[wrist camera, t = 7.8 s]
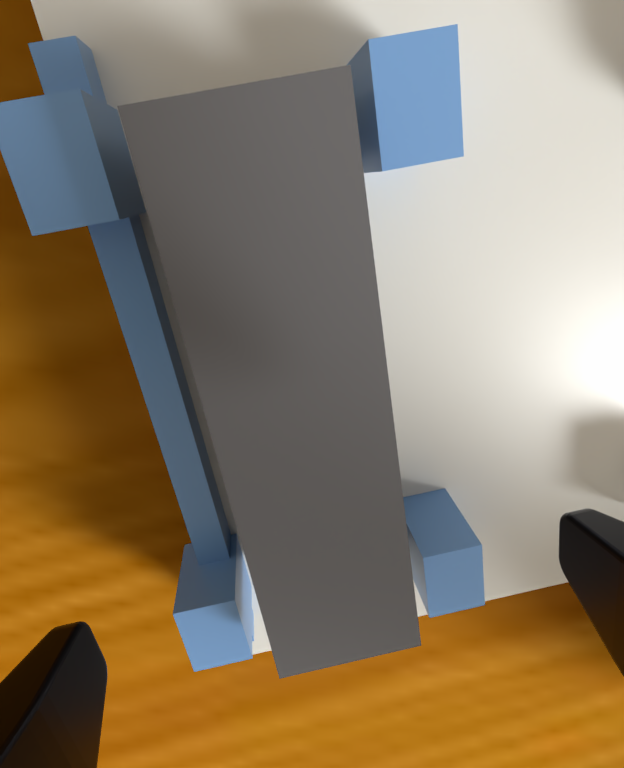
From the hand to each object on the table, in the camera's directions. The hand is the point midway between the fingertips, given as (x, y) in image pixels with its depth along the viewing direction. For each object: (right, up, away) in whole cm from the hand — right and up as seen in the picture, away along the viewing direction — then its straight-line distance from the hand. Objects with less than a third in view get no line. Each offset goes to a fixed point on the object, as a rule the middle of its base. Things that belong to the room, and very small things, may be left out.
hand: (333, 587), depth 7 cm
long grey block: (-1, +3, +8) cm, 9 cm away
